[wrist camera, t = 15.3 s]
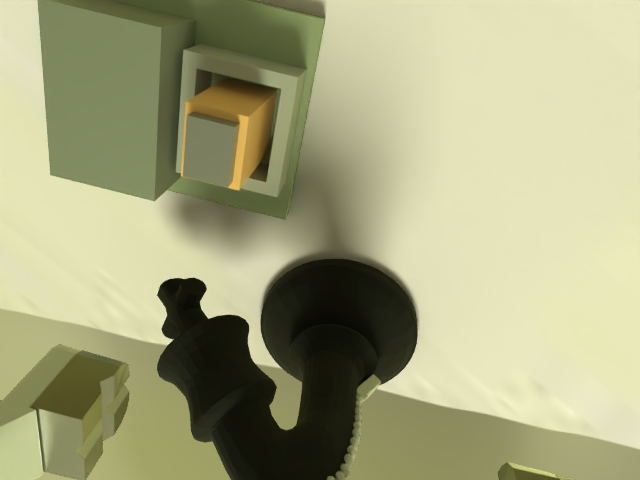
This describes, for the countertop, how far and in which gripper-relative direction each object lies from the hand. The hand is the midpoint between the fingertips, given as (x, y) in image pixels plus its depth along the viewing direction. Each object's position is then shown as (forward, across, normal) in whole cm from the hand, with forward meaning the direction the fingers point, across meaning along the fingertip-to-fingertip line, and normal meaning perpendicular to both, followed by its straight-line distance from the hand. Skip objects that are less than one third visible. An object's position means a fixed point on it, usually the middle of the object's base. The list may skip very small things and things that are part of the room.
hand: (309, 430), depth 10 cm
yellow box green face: (+30, +9, +3) cm, 31 cm away
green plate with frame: (+31, +14, +3) cm, 34 cm away
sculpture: (+31, +2, +20) cm, 38 cm away
